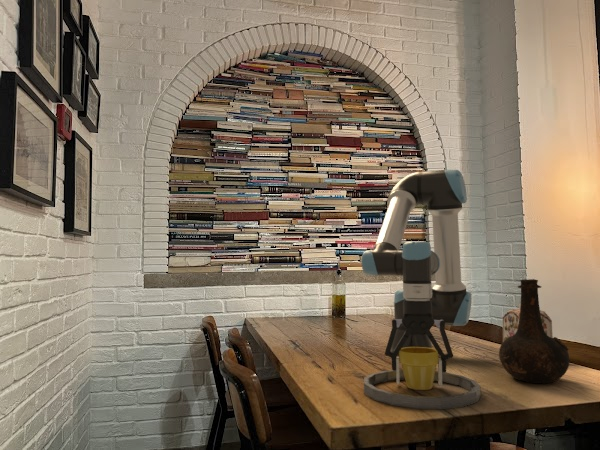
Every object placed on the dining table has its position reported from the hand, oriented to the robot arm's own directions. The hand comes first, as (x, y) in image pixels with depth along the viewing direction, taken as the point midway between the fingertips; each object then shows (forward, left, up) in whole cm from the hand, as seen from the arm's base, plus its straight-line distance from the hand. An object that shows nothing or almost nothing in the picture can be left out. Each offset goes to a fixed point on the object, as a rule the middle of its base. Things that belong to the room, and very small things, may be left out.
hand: (419, 383), depth 131 cm
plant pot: (0, 0, -1) cm, 1 cm away
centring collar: (+3, -4, -1) cm, 5 cm away
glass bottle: (+15, +31, -1) cm, 35 cm away
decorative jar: (-2, +61, -1) cm, 61 cm away
